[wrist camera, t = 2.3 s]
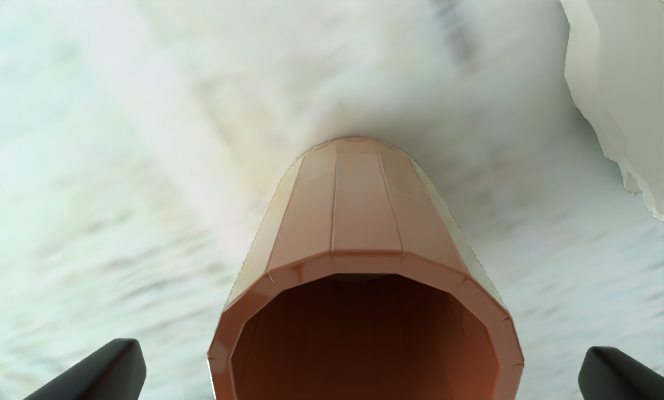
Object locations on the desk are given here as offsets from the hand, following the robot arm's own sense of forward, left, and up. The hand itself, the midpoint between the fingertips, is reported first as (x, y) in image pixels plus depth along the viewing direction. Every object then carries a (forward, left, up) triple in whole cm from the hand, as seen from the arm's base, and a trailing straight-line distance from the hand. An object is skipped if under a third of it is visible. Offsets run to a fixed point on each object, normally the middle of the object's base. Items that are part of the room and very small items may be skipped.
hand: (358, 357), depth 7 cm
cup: (0, 0, -6) cm, 6 cm away
